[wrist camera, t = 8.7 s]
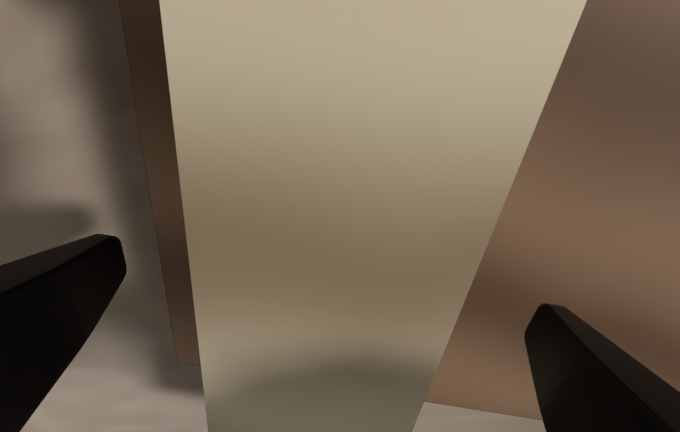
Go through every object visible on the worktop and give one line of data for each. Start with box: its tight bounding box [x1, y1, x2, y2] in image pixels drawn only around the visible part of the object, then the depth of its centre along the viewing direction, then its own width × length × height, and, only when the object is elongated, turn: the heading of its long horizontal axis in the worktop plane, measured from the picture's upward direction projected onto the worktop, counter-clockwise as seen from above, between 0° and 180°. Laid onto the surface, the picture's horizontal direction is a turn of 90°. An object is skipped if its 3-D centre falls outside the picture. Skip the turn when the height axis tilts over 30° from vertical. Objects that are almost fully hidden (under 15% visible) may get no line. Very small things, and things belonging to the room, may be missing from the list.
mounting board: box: [119, 0, 680, 420], centre depth 8 cm, size 21×21×2 cm
